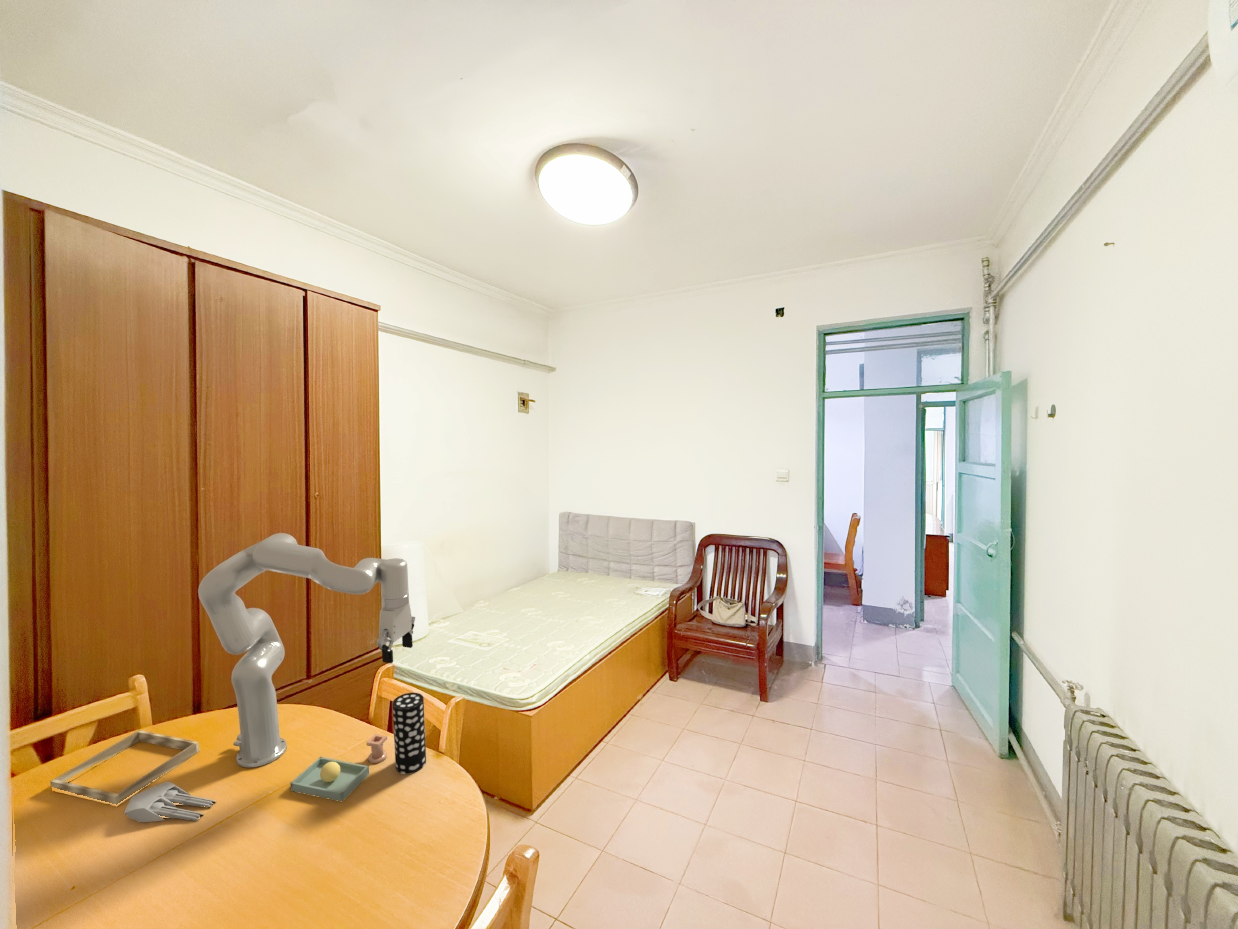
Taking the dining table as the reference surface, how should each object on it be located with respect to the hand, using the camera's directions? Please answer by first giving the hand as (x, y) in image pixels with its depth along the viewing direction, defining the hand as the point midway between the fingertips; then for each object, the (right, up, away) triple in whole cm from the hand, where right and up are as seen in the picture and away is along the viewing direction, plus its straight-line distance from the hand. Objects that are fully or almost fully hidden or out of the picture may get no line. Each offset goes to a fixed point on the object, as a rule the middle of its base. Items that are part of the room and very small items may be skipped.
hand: (398, 654), depth 170 cm
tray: (-13, -31, -14) cm, 36 cm away
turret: (-49, -32, -25) cm, 64 cm away
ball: (-13, -30, -14) cm, 36 cm away
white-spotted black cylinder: (+6, -30, -6) cm, 31 cm away
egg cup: (-4, -29, -4) cm, 30 cm away
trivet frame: (-72, -29, -11) cm, 78 cm away
